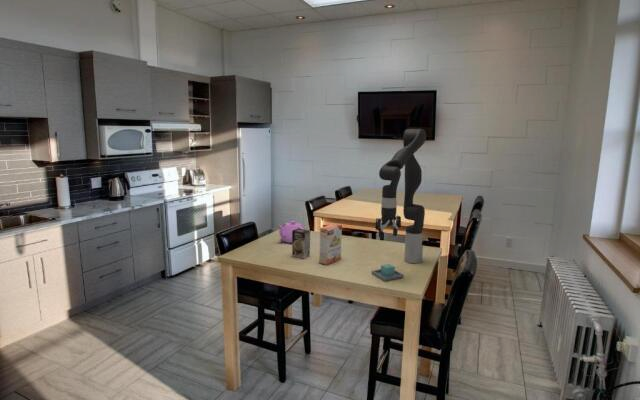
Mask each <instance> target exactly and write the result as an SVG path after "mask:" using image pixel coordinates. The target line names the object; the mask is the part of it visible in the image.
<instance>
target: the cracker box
mask: <svg viewBox="0 0 640 400" xmlns="http://www.w3.org/2000/svg"><path fill="white" fill-rule="evenodd" d="M342 231H343V225H342V224H339V223H332V224H331V223H330V224H328V225H325V226H322V227H319V258H318V259H319V261H318V262H319V264H322V265H325V266H329V265H330V264H332V263H335V262H338V261H339V260H341V259H342V236H343V234H342Z"/></svg>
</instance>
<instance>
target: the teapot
mask: <svg viewBox="0 0 640 400" xmlns="http://www.w3.org/2000/svg"><path fill="white" fill-rule="evenodd" d="M277 226H278V227H279V236H280V238H281V240H282V242H284V243H287V244H288V243H289V244H292V230H295V229H304V230H305V228H304V227H303V224H301V223H300V222H296V220H290V222H284V223H283V225H280V224H277Z"/></svg>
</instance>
